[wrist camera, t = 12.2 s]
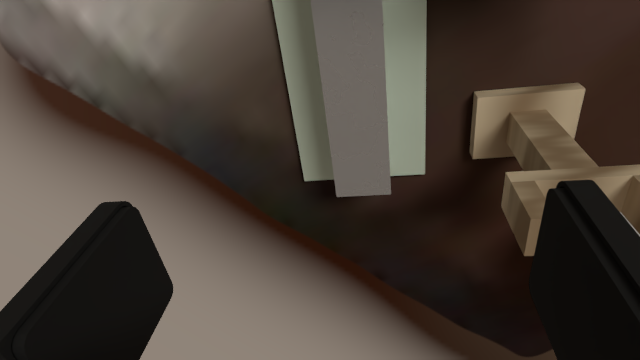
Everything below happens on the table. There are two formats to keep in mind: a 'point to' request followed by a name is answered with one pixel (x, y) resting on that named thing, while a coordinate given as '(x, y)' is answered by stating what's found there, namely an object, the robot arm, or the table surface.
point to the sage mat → (401, 85)
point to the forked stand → (543, 153)
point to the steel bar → (354, 93)
